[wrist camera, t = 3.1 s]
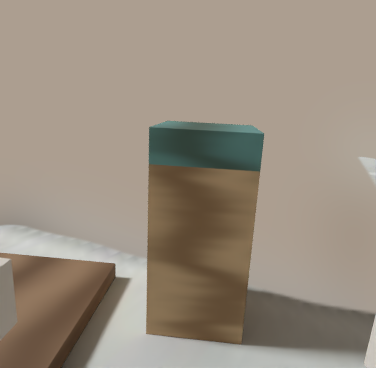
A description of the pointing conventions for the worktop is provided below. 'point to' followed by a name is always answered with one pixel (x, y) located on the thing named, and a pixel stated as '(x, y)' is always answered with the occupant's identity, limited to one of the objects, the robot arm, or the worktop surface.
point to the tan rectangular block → (200, 228)
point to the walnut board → (51, 308)
